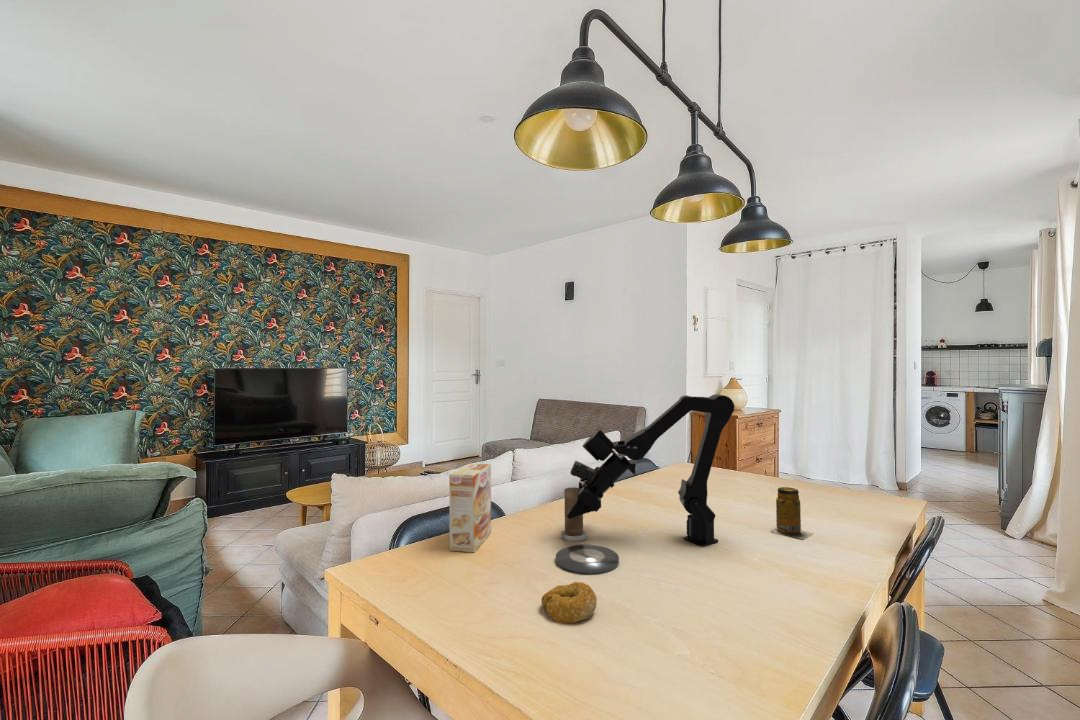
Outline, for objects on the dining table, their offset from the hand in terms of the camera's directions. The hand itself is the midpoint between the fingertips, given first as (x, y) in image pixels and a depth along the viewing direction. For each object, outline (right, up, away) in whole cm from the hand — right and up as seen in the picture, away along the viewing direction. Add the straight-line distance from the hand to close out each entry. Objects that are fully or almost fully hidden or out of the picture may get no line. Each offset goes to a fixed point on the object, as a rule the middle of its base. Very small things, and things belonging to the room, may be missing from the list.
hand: (568, 513), depth 133 cm
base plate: (+3, -6, -16) cm, 18 cm away
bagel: (-2, -7, -40) cm, 40 cm away
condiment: (+62, -6, +2) cm, 62 cm away
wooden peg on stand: (+1, -7, 0) cm, 7 cm away
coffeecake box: (-26, -7, -3) cm, 27 cm away
